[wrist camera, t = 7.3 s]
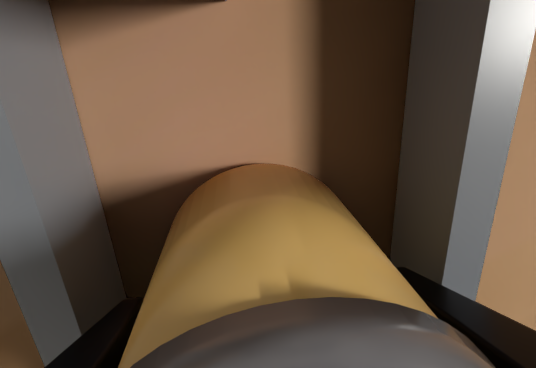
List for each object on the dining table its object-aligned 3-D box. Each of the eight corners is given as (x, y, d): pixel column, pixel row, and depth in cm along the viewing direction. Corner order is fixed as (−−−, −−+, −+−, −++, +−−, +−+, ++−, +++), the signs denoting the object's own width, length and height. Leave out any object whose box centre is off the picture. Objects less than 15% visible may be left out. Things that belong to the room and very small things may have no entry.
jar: (351, 315, 11) (499, 617, 5) (178, 337, 10) (107, 705, 4) (360, 149, 9) (636, 321, 3) (144, 167, 8) (-79, 423, 2)
